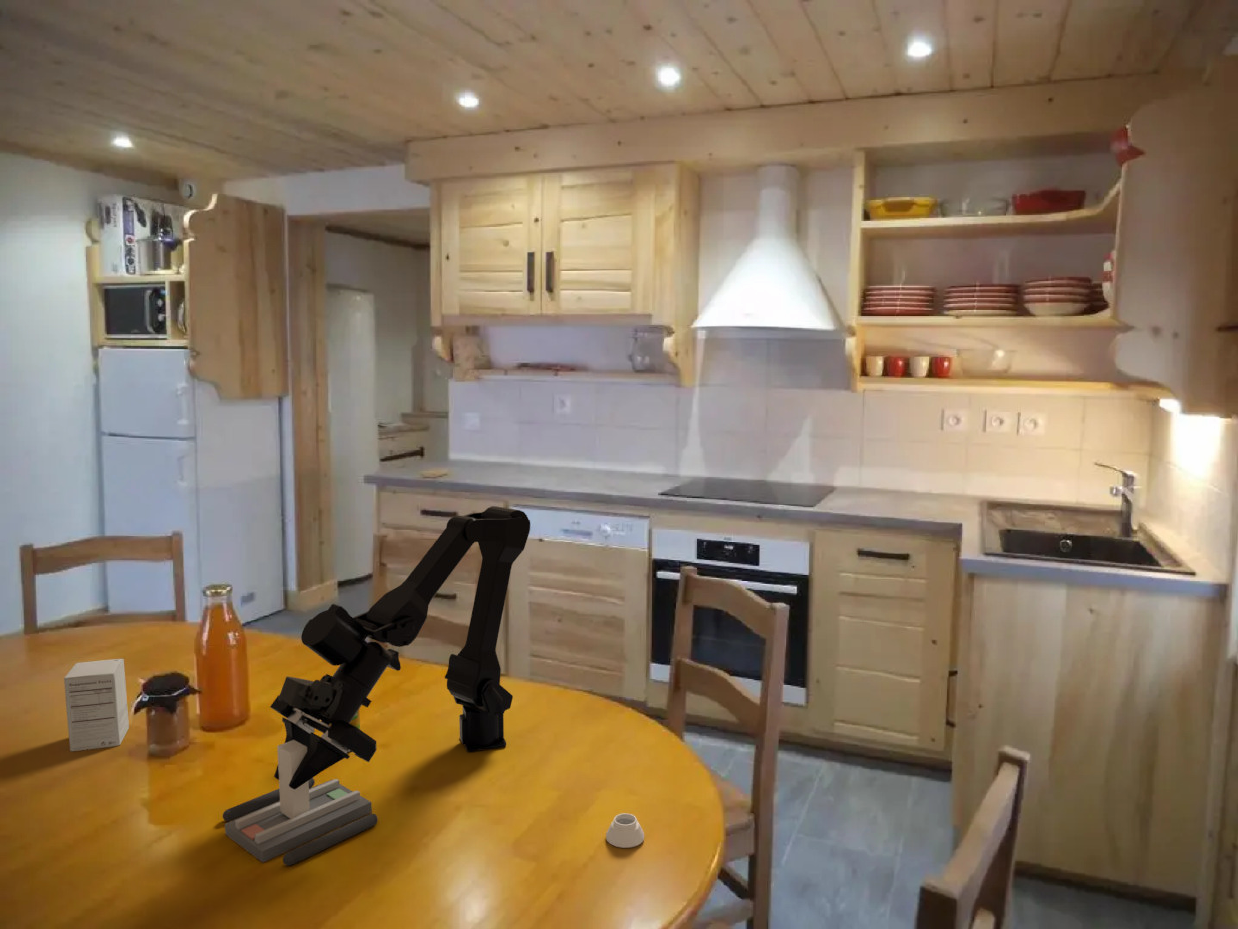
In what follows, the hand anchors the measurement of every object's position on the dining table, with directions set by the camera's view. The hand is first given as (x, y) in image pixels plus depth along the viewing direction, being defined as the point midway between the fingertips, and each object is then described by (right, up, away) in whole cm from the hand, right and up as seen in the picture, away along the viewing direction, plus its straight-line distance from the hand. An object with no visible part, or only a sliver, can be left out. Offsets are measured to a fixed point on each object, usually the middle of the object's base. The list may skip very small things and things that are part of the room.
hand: (284, 783), depth 116 cm
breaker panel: (+1, -6, +2) cm, 7 cm away
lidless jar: (+46, -7, -1) cm, 46 cm away
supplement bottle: (0, -4, +26) cm, 26 cm away
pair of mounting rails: (+1, -6, +2) cm, 7 cm away
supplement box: (-41, -3, +28) cm, 50 cm away
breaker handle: (+1, -5, +2) cm, 5 cm away
